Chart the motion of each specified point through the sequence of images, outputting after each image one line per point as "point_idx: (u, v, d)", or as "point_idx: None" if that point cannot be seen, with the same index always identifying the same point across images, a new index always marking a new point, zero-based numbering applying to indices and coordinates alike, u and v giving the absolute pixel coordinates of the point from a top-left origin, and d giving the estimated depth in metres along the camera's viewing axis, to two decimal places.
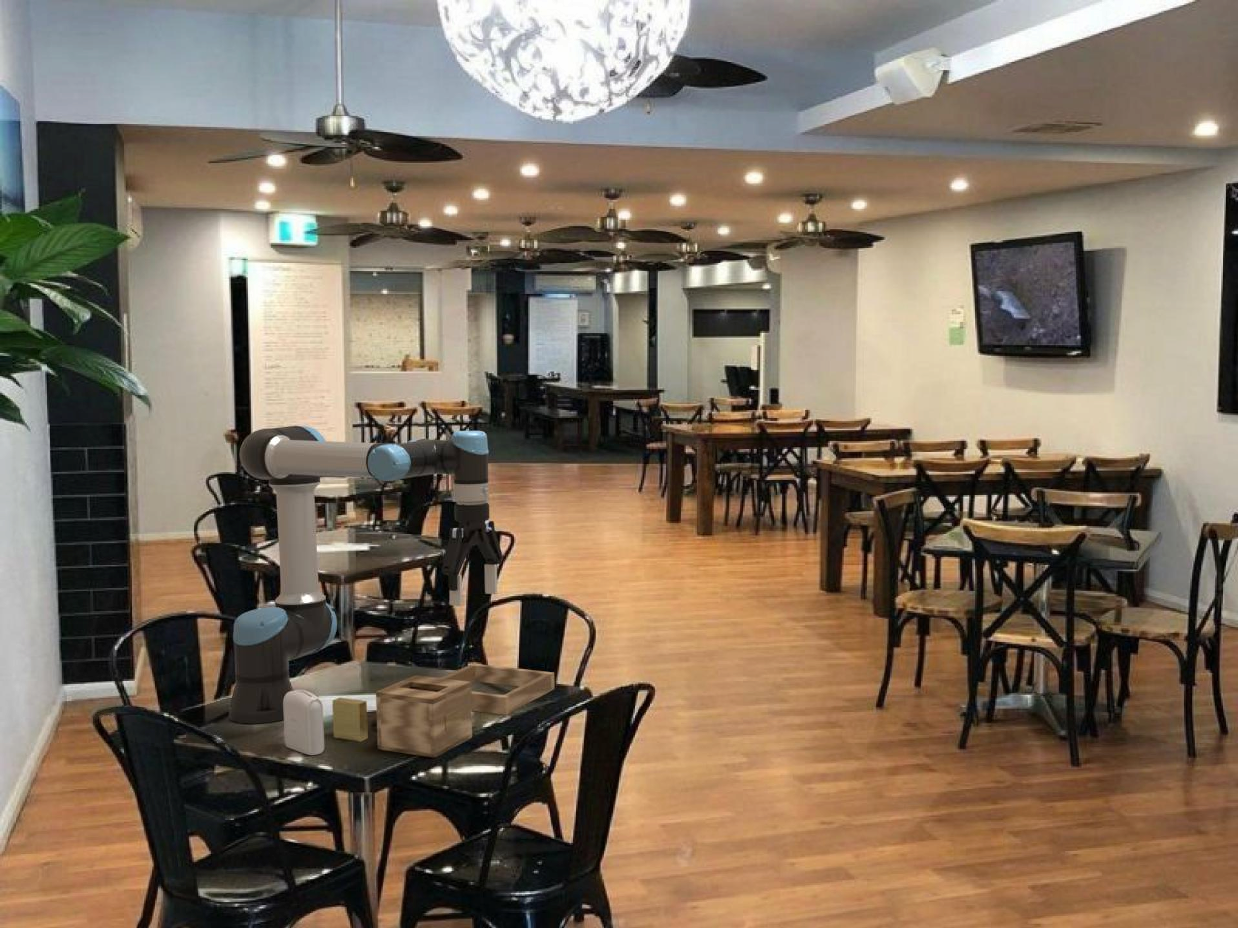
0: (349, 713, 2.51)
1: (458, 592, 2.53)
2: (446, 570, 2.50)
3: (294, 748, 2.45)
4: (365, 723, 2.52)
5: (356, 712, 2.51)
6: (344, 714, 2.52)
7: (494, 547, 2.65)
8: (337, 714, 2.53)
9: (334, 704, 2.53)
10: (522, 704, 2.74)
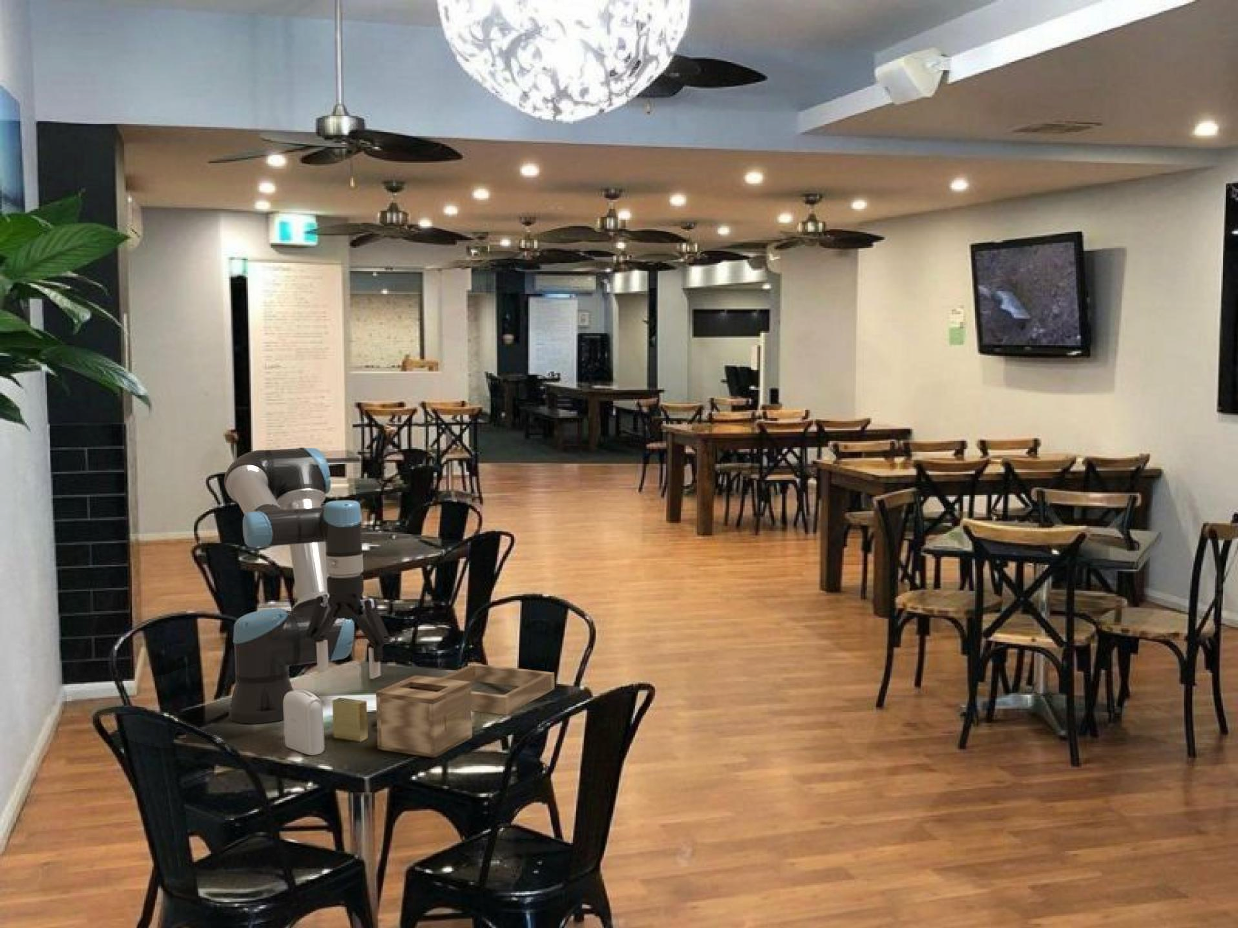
0: (349, 713, 2.51)
1: None
2: None
3: (294, 748, 2.45)
4: (365, 723, 2.52)
5: (356, 712, 2.51)
6: (344, 714, 2.52)
7: None
8: (337, 714, 2.53)
9: (334, 704, 2.53)
10: (522, 704, 2.74)
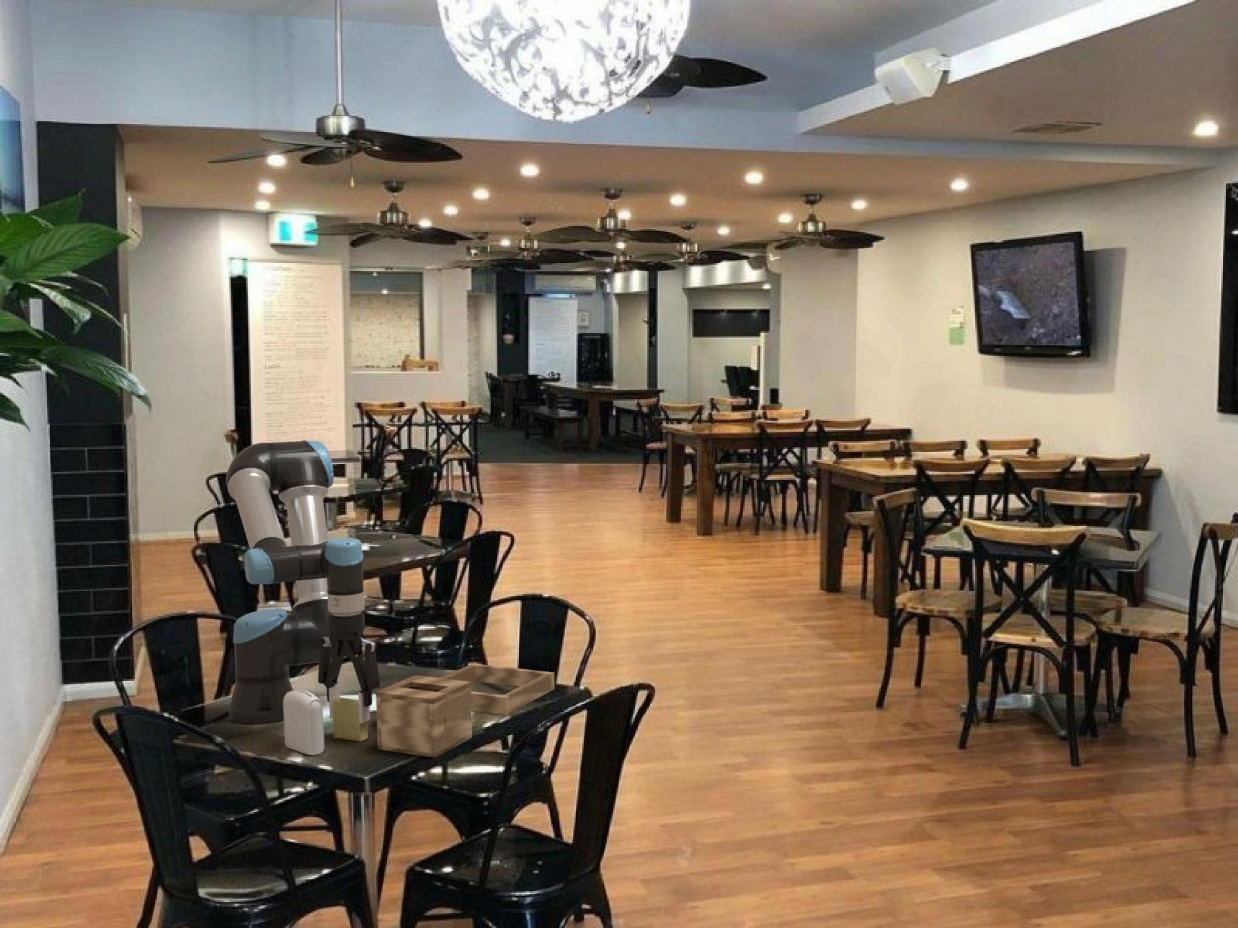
0: (349, 713, 2.51)
1: None
2: None
3: (294, 748, 2.45)
4: (365, 723, 2.52)
5: (356, 711, 2.51)
6: (344, 714, 2.52)
7: None
8: (337, 714, 2.53)
9: (334, 704, 2.53)
10: (522, 704, 2.74)
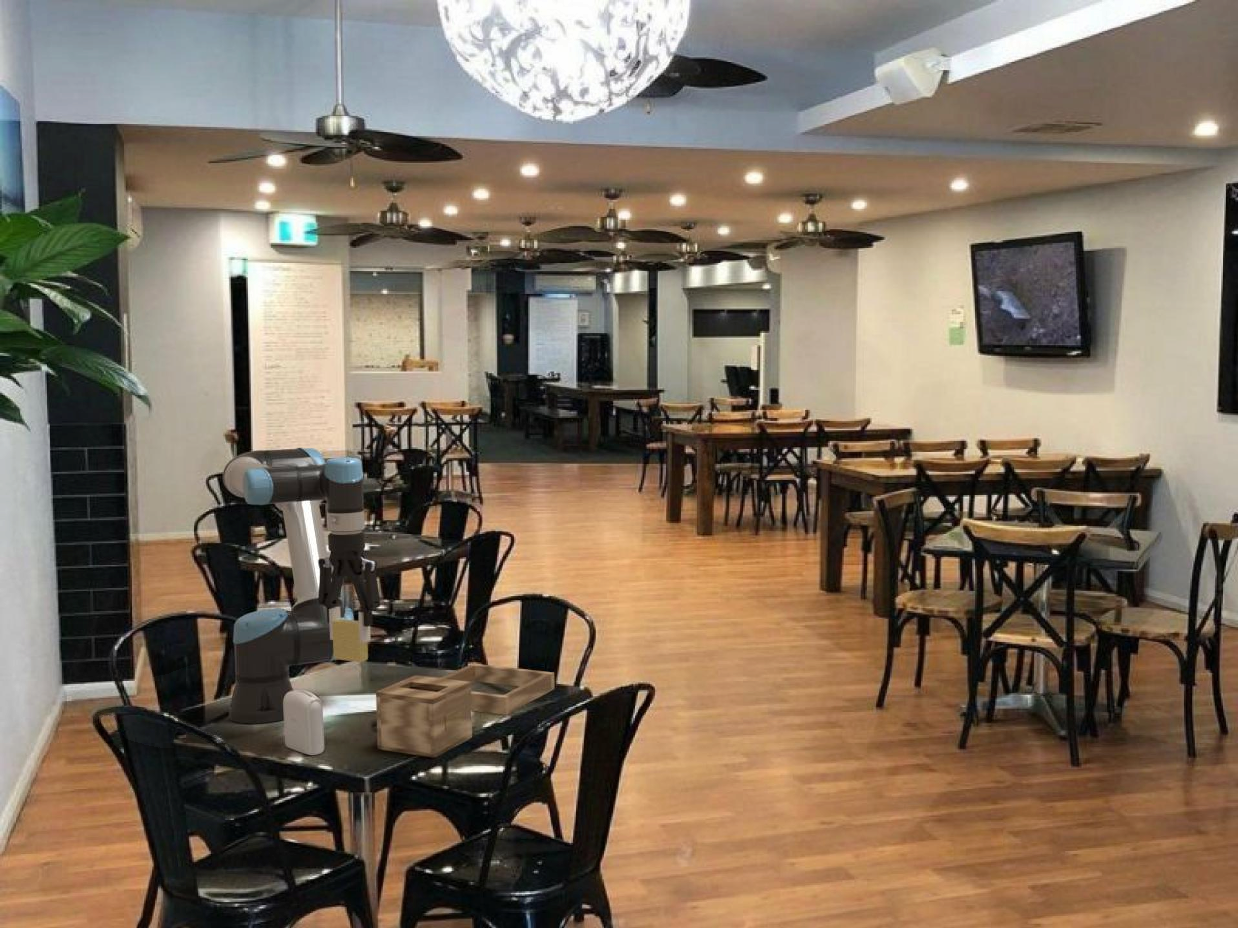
0: (349, 634, 2.49)
1: None
2: None
3: (294, 748, 2.45)
4: (365, 644, 2.50)
5: (356, 632, 2.49)
6: (344, 635, 2.50)
7: None
8: (337, 635, 2.51)
9: (334, 625, 2.51)
10: (522, 704, 2.74)
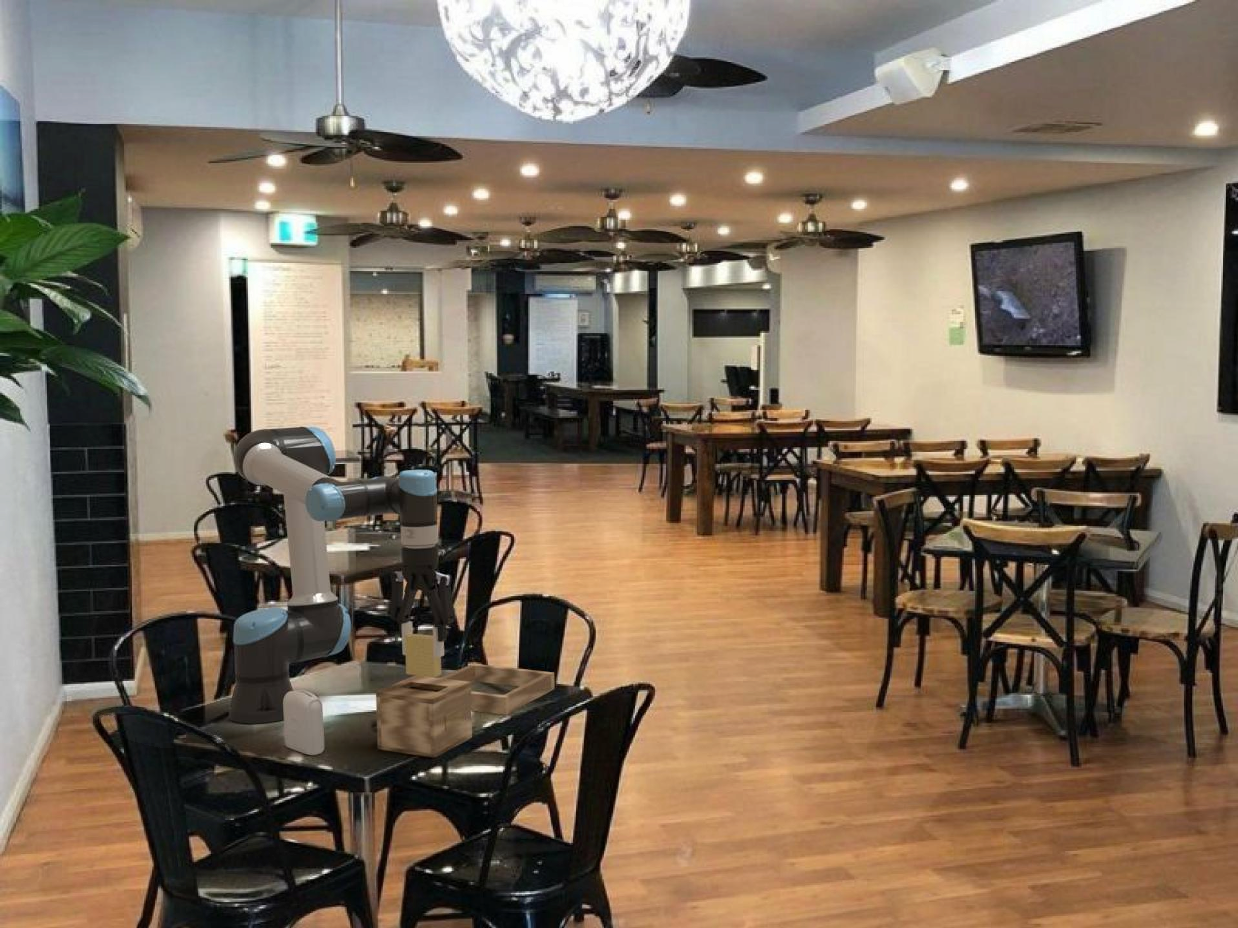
0: (423, 649, 2.45)
1: None
2: None
3: (294, 748, 2.45)
4: (439, 659, 2.46)
5: (430, 647, 2.45)
6: (417, 650, 2.46)
7: None
8: (410, 650, 2.47)
9: (407, 639, 2.47)
10: (522, 704, 2.74)
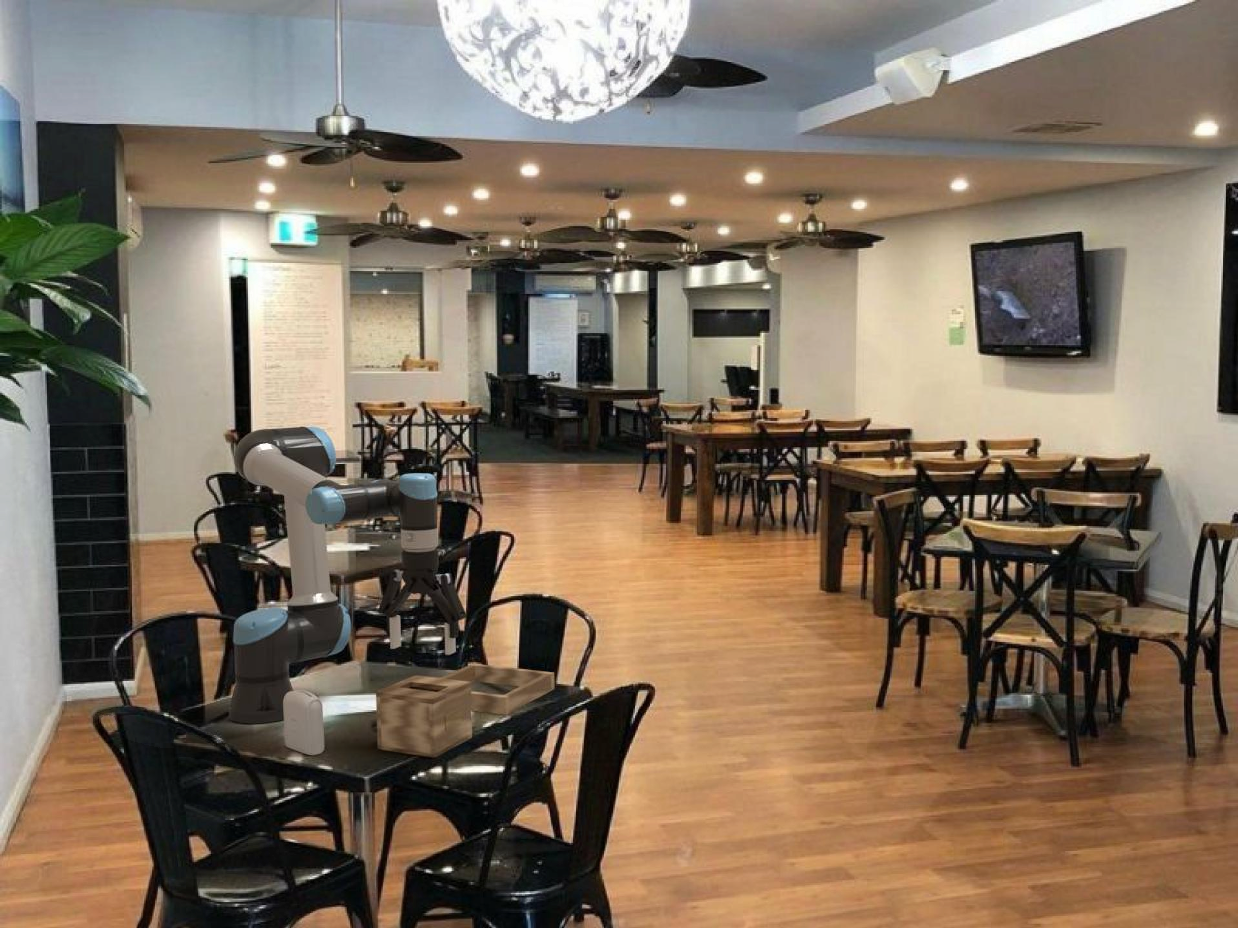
0: None
1: None
2: None
3: (294, 748, 2.45)
4: None
5: None
6: None
7: None
8: None
9: None
10: (522, 704, 2.74)
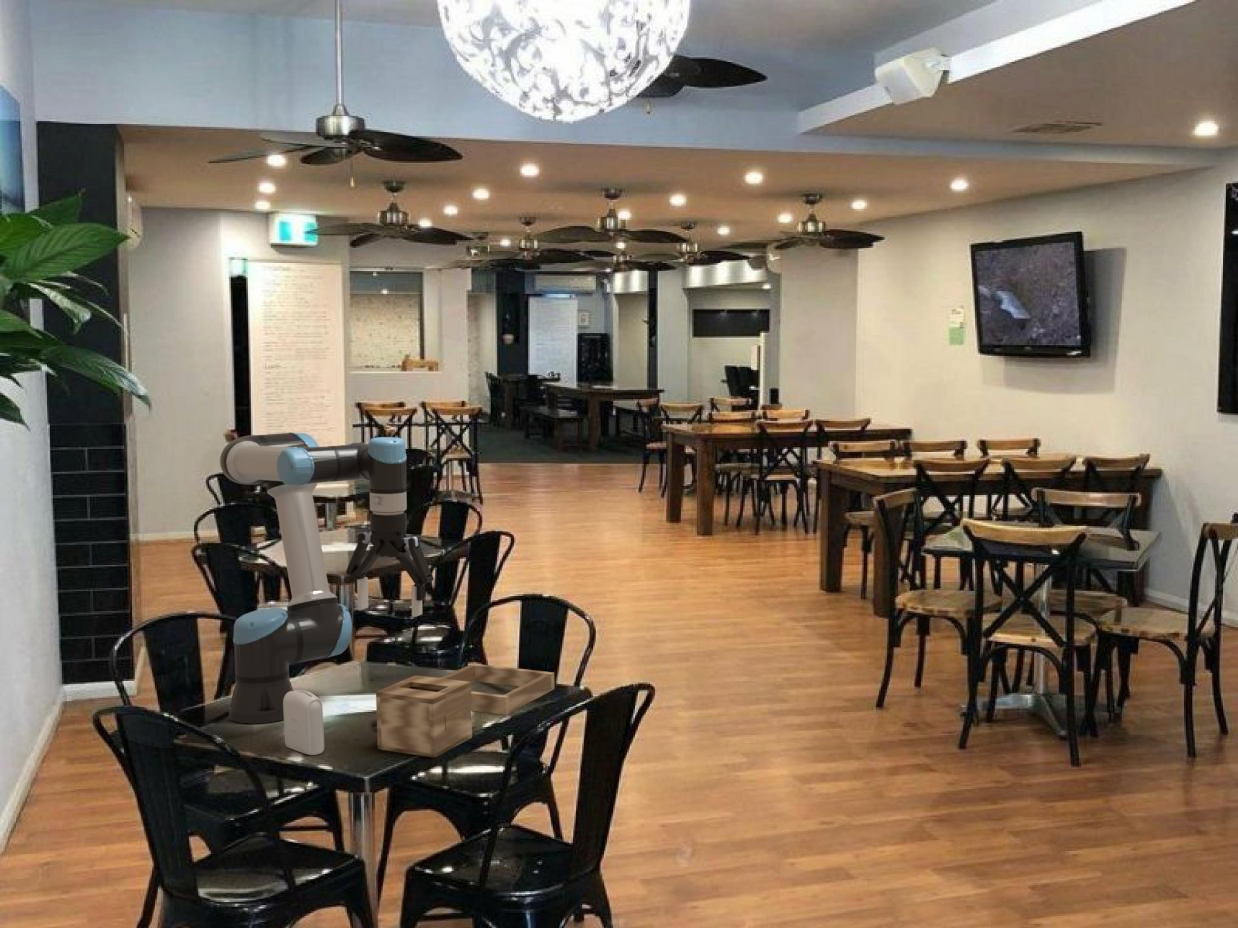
0: None
1: None
2: None
3: (294, 748, 2.45)
4: None
5: None
6: None
7: None
8: None
9: None
10: (522, 704, 2.74)
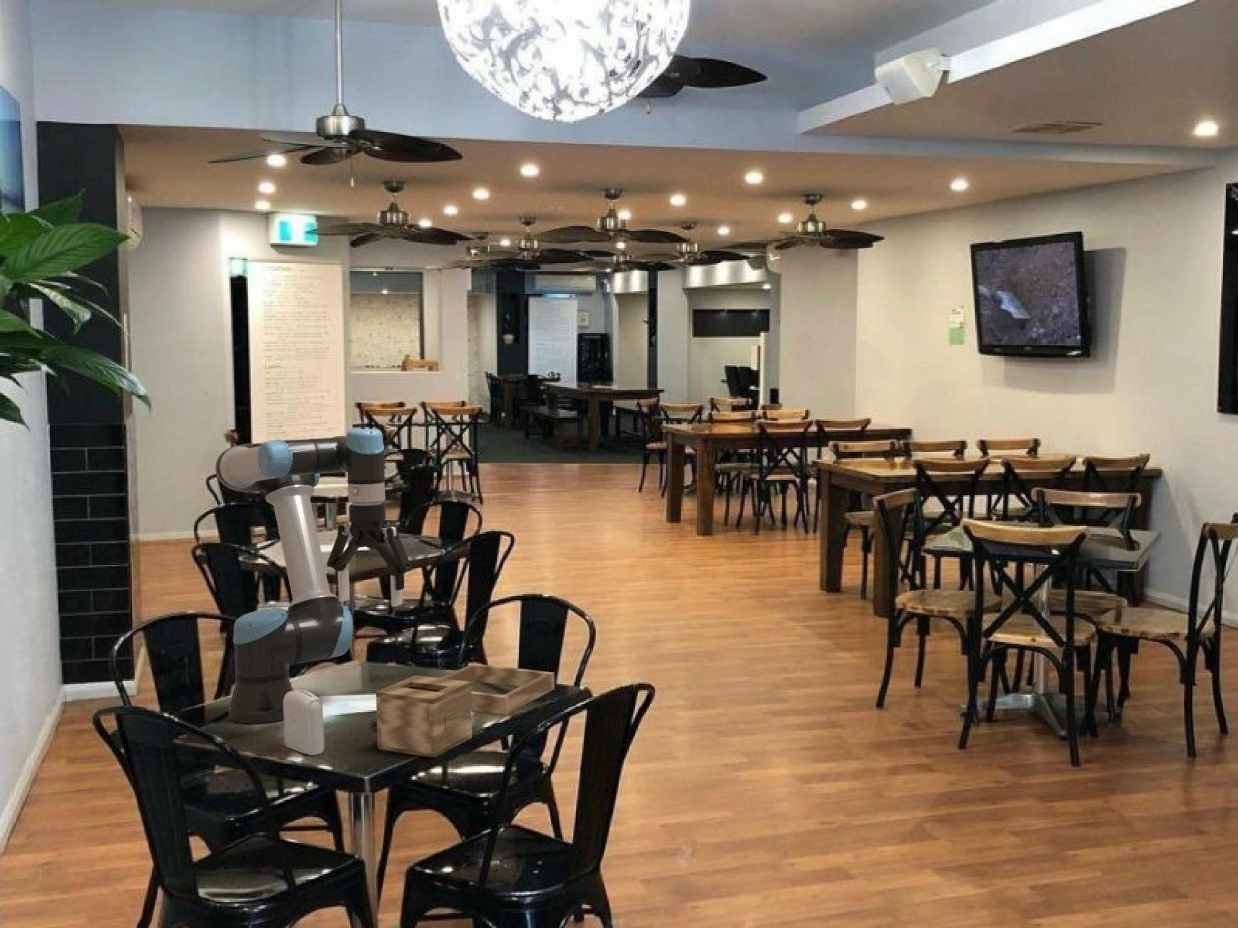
0: None
1: None
2: None
3: (294, 748, 2.45)
4: None
5: None
6: None
7: None
8: None
9: None
10: (522, 704, 2.74)
